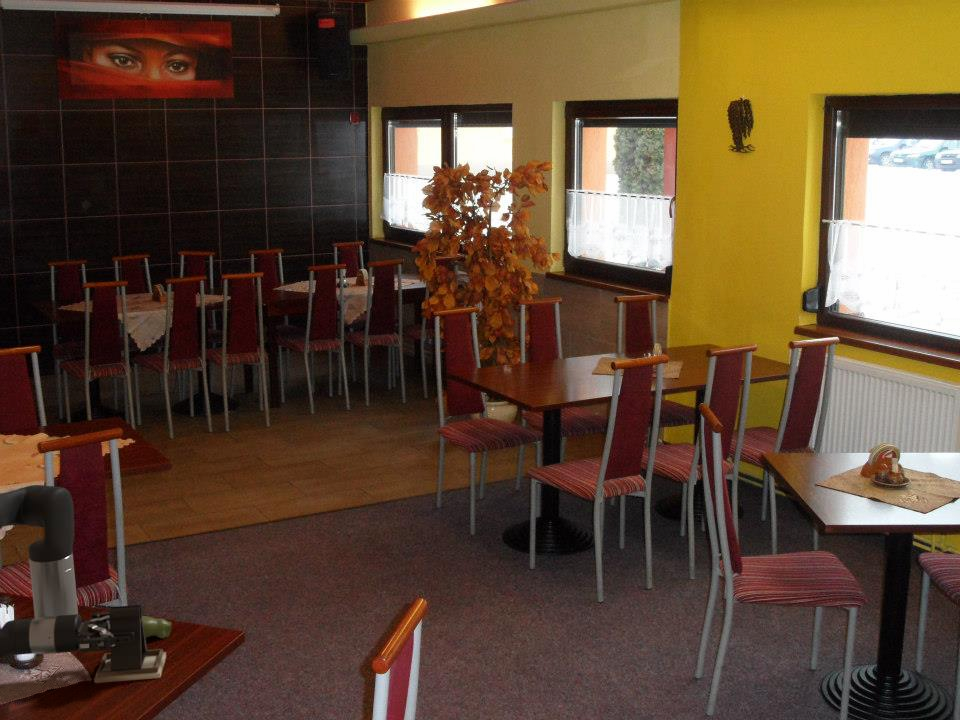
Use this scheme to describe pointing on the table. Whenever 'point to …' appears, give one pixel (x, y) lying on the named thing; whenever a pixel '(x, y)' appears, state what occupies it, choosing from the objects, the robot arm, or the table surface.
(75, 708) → the table surface
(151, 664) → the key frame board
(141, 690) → the table surface
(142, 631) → the phone stand
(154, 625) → the pear
